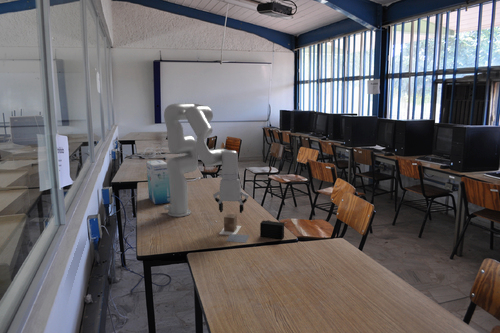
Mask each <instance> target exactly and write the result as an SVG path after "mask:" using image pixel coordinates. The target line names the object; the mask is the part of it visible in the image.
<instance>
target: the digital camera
mask: <svg viewBox="0 0 500 333" xmlns="http://www.w3.org/2000/svg"><path fill="white" fill-rule="evenodd" d="M259 223H260V224H259V235H260V236H259V237H260V238H265V239H266V238H267V239H271V240H279V241H283V239H284V238H285V222H283V221H282V222H281V221H272V220H269V219H268V220H262V221H261V222H259Z"/></svg>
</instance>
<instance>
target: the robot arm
mask: <svg viewBox="0 0 500 333" xmlns="http://www.w3.org/2000/svg"><path fill="white" fill-rule="evenodd" d="M213 114H214V113H213V110H212V109H211V108H210V107H209V106H208V105H203V104H199V103H191V102H190V103H189V102H188V103H187V102H185V103H182V102H181V103H180V102H179V103H171V104H168V105H167V106H166V107H165V109H164V112H163V118H164V122H165V127H166V136H167V137H166V138H167V147H168V151H169V153H170V154H172V155H179V156H173V157H171V158H169V159H168V160H167V162H166V163H167V170H168V174H169V185H170V203H169V205H167V204H164V205H163V209H164V210H165V211H166V210H168V211H167V215H168V216H169V217H175V218H176V217H177V218H179V217H181V218H182V217H186V216H188V215H190V214H191V213H192V210H191V209H189V198H188V196H189V195H188V194H189V193H188V180H187V178H186V177H185V175H184V174H188V173H193V172H195V171H197V169H198V166H199V161H198V160H199V159H200V160H201V162H202V163H203V164H204V165H205V166H207V167H213V166H219V165H220V166H221V173H219V175H218V176H219V178H221V179H220V183H219V191H217V192H215V193H213V195H212V196H213V199H214V200H215V201H216V202H217V204H218V211H219V213H222V212H223V211H224V203H223V202H238V203H239V214H242V213H243V212H244V208H245V207H244V204H245V203H246V202H247V201H248V199H249V197H250V195H249V194H247V193H245V192H244V191H243V190H242V184H241V179H240V178H239V156H238V155H239V154H238V152H237V151H236V150H231V149H230V150H229V149H226V148H215V149H209V147H208V145H207V143H206V139H207V138H209V137H210V136H211V135H212V133H213V128H212V126H211V124H210V122H211V121H212V120H213V117H214V115H213ZM183 120H184V121H186V120H187V122H188V123H189V126H190V127H191V129H192V130H193V132H194V134H195V136H196V139H195V138H194V137H193V136H192V135H189V134H187V135H184V127H183V125H182V123H181V122H180V121H183ZM181 154H184V155H181ZM198 157H199V158H198ZM242 197H244V198H242Z"/></svg>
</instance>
